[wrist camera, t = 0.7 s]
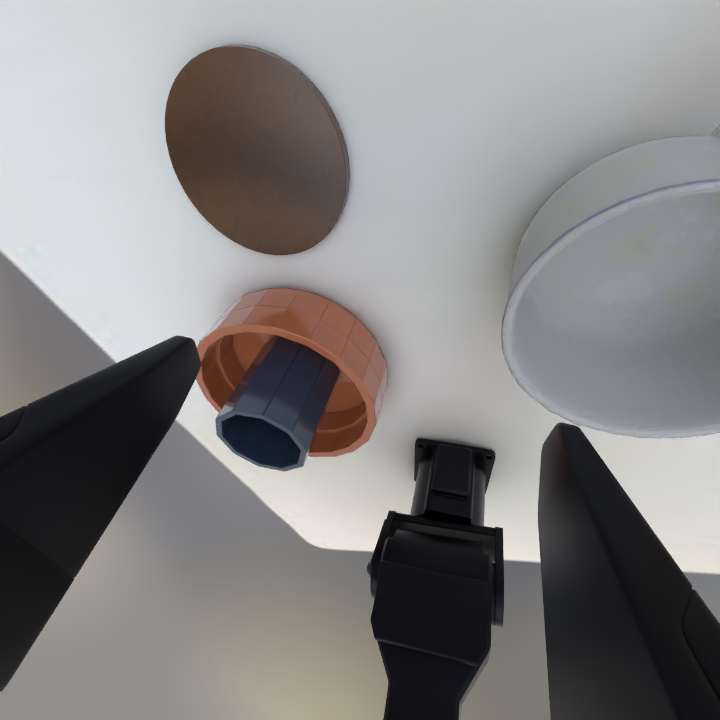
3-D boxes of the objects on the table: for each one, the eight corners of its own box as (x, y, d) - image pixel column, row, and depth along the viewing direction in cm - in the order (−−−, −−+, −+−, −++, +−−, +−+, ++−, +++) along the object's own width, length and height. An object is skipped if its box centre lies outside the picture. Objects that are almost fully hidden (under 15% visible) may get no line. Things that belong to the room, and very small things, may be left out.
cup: (345, 394, 31) (314, 477, 26) (274, 384, 33) (230, 461, 28) (336, 336, 27) (297, 421, 22) (255, 328, 29) (200, 405, 23)
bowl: (391, 423, 33) (379, 469, 30) (251, 402, 36) (227, 441, 33) (385, 291, 24) (368, 337, 21) (201, 277, 28) (162, 315, 24)
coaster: (357, 254, 23) (354, 259, 23) (209, 246, 26) (204, 251, 25) (337, 35, 16) (332, 37, 16) (138, 52, 19) (130, 54, 18)
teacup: (624, 355, 23) (663, 474, 18) (462, 275, 22) (449, 372, 17) (965, 99, 13) (1305, 184, 8) (696, -63, 12) (857, -101, 7)
